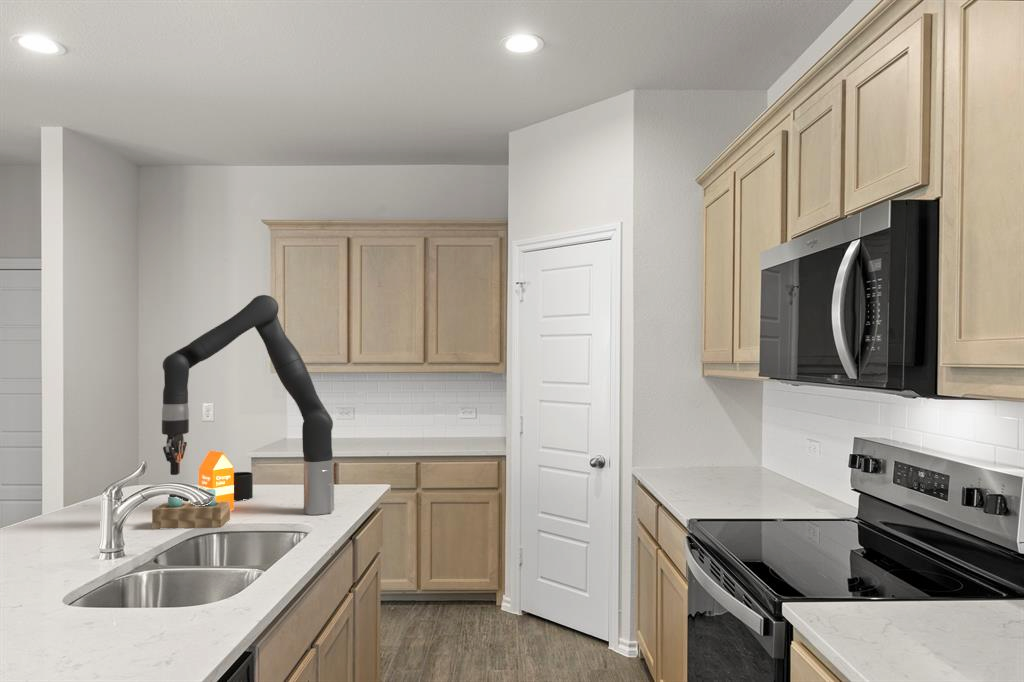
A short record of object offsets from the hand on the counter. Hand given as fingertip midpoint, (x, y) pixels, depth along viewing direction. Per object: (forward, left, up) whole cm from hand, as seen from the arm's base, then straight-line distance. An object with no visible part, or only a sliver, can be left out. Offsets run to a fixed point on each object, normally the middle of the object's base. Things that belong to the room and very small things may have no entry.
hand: (175, 474), depth 217 cm
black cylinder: (-8, -40, -16) cm, 44 cm away
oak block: (-5, 0, -16) cm, 16 cm away
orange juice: (-6, -19, -16) cm, 26 cm away
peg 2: (-10, 0, -11) cm, 15 cm away
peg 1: (0, 0, -11) cm, 11 cm away
